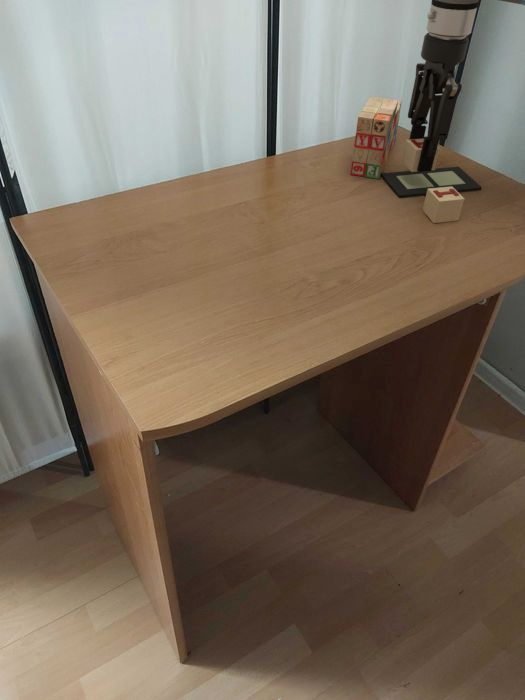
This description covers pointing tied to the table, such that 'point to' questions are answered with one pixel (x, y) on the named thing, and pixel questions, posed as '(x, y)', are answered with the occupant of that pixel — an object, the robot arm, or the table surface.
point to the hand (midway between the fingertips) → (418, 164)
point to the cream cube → (415, 154)
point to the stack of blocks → (375, 136)
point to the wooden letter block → (443, 204)
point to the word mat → (429, 181)
